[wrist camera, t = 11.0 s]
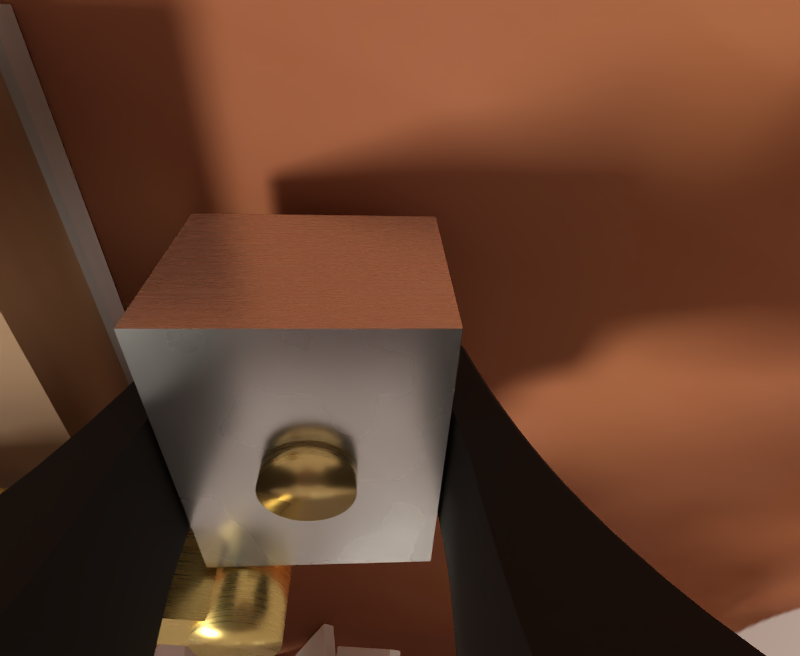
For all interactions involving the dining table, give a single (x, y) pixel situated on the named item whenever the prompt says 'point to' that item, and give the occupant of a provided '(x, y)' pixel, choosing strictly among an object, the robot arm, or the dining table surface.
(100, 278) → the tan flat board
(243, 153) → the dining table surface
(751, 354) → the dining table surface
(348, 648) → the spiral staircase
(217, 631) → the lever
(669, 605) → the robot arm
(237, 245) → the white block with knob
